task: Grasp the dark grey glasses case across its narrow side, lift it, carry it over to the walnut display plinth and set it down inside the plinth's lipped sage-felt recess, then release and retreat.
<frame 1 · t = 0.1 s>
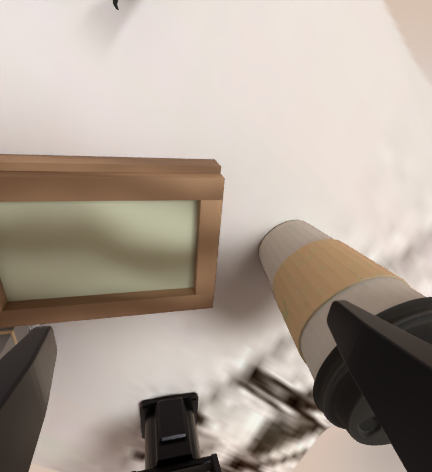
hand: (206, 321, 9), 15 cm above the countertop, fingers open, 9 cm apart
coffee cup: (288, 246, 28), on the countertop
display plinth: (105, 234, 23), on the countertop
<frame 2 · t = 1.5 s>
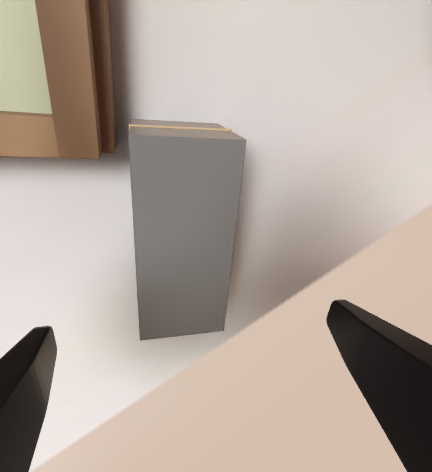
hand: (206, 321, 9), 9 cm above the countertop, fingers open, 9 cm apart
glasses case: (174, 210, 17), on the countertop
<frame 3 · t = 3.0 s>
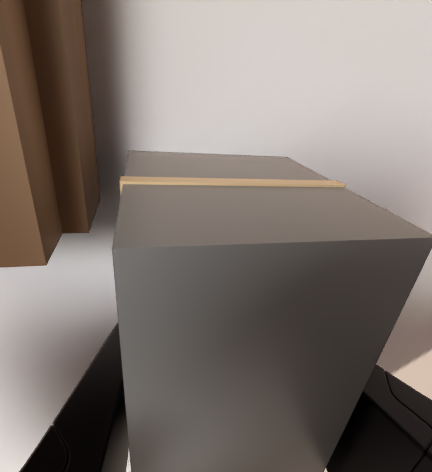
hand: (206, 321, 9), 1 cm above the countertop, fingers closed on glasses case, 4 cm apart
glasses case: (201, 299, 10), on the countertop, touching gripper
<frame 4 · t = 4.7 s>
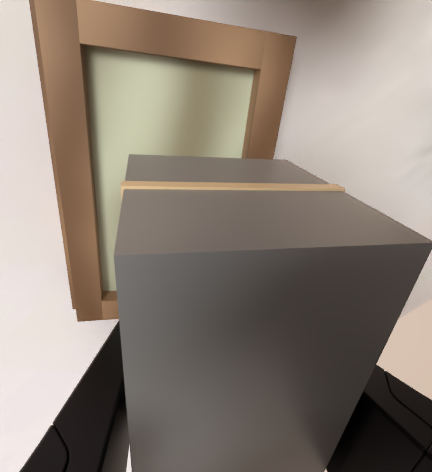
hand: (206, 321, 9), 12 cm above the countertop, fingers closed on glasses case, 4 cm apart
glasses case: (201, 301, 10), point 11 cm above the countertop, touching gripper
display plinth: (166, 182, 19), on the countertop
when the fingers open (4 cm above the countertop, at t = 6.9 s): glasses case stays where it is, resting on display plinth.
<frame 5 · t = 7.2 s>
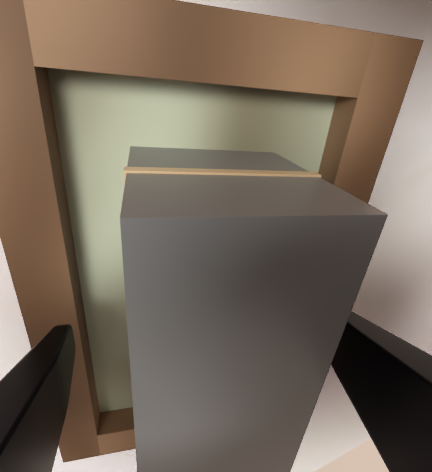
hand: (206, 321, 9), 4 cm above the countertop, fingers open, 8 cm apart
glasses case: (197, 284, 11), point 2 cm above the countertop, touching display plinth
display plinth: (187, 254, 13), on the countertop
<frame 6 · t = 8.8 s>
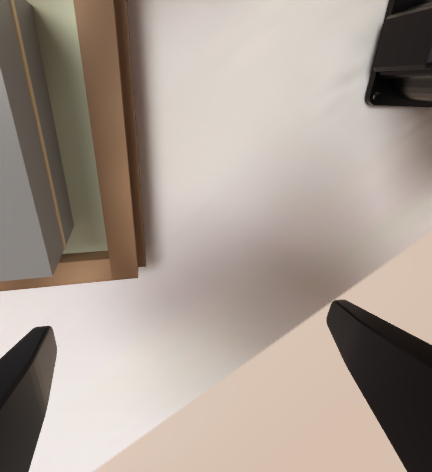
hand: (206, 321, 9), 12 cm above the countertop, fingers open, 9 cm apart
glasses case: (4, 132, 14), point 2 cm above the countertop, touching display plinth
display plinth: (19, 125, 16), on the countertop
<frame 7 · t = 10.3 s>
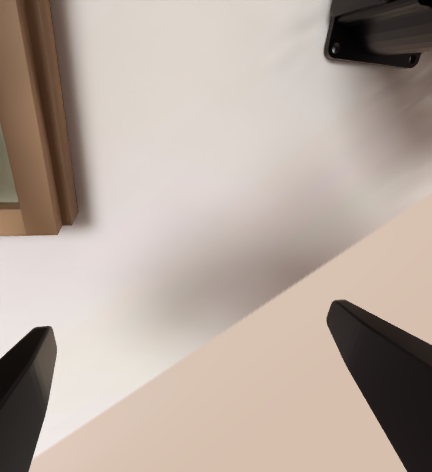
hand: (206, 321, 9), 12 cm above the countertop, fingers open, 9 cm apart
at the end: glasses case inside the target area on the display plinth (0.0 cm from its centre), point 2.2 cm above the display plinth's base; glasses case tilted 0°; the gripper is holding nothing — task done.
